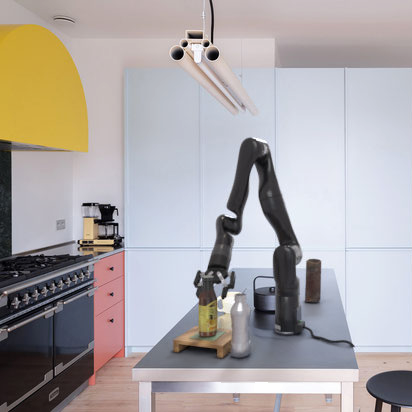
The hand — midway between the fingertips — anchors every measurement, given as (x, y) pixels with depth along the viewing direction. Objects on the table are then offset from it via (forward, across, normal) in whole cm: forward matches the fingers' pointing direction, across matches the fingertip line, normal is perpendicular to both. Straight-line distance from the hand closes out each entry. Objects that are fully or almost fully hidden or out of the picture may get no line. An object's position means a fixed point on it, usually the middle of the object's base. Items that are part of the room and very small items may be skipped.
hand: (210, 298), depth 143 cm
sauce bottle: (+10, 0, +7) cm, 12 cm away
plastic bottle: (+18, +13, +5) cm, 22 cm away
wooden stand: (+13, 0, +10) cm, 16 cm away
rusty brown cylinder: (-28, +31, +51) cm, 66 cm away
